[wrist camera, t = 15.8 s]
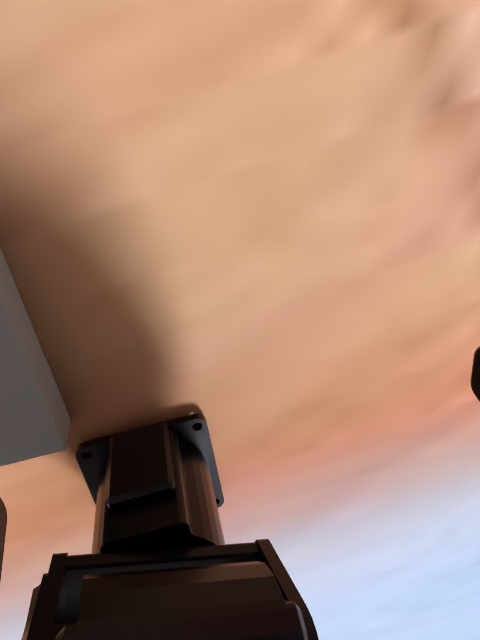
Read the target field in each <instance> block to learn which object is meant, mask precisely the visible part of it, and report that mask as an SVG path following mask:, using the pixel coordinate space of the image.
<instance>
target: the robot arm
mask: <svg viewBox="0 0 480 640" xmlns="http://www.w3.org/2000/svg"><path fill="white" fill-rule="evenodd" d="M471 387H472V390H473V392H474V394H475V396H476V397H477V399H478V400H479V401H480V347H478V348H477V349H476V351H475V353H474V359H473V367H472V375H471ZM195 423H200V425H198V426H194V424H195ZM85 451H89V452H91V453H89V454H86V453H83V452H85ZM76 459H77V461H78V463H79V466H80V468H81V471H82V473H83V475H84V478H85V480H86V482H87V485H88V487H89V489H90V492H91V494H92V497H93V499H94V501H95V504H96V513H95V523H94V534H93V545H92V554H84V555H70V556H68V553H60V554H53V556H52V560H51V564H50V568H49V572H48V573H46V574H43V578H42V581H41V584H40V585H39V586H37V587H36V588H35V589H33V593H32V598H31V603H30V608H29V613H28V617H27V622H26V626H25V630H24V634H23V637H22V640H319V639H318V635H317V631H316V628H315V625H314V622H313V619H312V617H311V614H310V612H309V610H308V608H307V606H306V604H305V603H304V601H303V599H302V597H301V595H300V594H299V592H298V590H297V588H296V587H295V585H294V583H293V581H292V580H291V578H290V576H289V574H288V573H287V571H286V569H285V567H284V566H283V564H282V562H281V560H280V559H279V557H278V555H277V553H276V551H275V550H274V548H273V546H272V544H271V543H270V541H269V540H268V539H262V540H256V541H255V542H254V543H239V544H225V542H224V537H223V532H222V528H221V523H220V518H219V513H218V509H217V508H218V507H220V506H221V505H222V504H223V503H224V498H223V493H222V489H221V484H220V480H219V475H218V471H217V467H216V462H215V458H214V453H213V449H212V444H211V440H210V435H209V431H208V427H207V422H206V419H205V417H204V416H203V415H201V414H194V415H190V416H186V417H182V418H178V419H174V420H170V421H166V422H162V423H158V424H154V425H150V426H146V427H142V428H138V429H134V430H130V431H126V432H122V433H118V434H114V435H110V436H106V437H102V438H98V439H94V440H90V441H86V442H83V443H81V444H80V445H79V446H78V447H77V450H76ZM6 524H7V512H6V508H5V505H4V503H3V501H2V499H1V498H0V580H1V570H2V561H3V552H4V543H5V534H6Z"/></svg>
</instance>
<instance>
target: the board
mask: <svg viewBox="0 0 480 640" xmlns="http://www.w3.org/2000/svg"><path fill="white" fill-rule="evenodd" d="M70 427H71V418H70V416H69V413H68V411H67V409H66V406H65V404H64V401H63V399H62V396H61V394H60V391H59V389H58V387H57V384H56V382H55V379H54V377H53V374H52V372H51V369H50V367H49V364H48V362H47V360H46V357H45V355H44V352H43V350H42V347H41V345H40V342H39V340H38V338H37V335H36V333H35V330H34V328H33V325H32V323H31V320H30V318H29V315H28V313H27V311H26V308H25V306H24V303H23V301H22V298H21V296H20V293H19V291H18V289H17V286H16V284H15V281H14V279H13V276H12V274H11V271H10V269H9V266H8V264H7V262H6V259H5V257H4V254H3V252H2V249H1V247H0V466H3V465H7V464H11V463H15V462H19V461H23V460H27V459H31V458H35V457H39V456H43V455H47V454H51V453H55V452H59V451H63V450H66V447H67V442H68V437H69V432H70Z"/></svg>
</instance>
